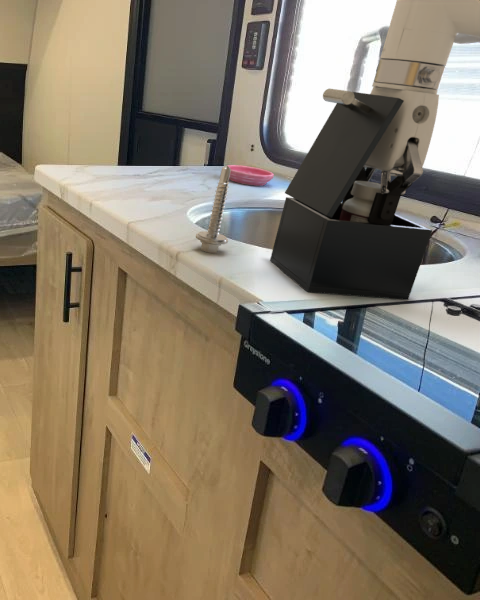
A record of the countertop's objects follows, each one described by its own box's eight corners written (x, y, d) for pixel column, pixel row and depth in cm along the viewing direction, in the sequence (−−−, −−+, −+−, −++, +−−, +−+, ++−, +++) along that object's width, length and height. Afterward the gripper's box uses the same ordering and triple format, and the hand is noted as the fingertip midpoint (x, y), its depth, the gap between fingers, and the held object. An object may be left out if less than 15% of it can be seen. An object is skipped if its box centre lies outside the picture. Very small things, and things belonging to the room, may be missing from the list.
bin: (358, 268, 92) (378, 206, 89) (408, 300, 81) (432, 230, 77) (269, 260, 90) (285, 197, 87) (307, 292, 79) (328, 220, 75)
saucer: (272, 189, 149) (275, 177, 148) (222, 181, 151) (224, 169, 150) (269, 181, 160) (272, 169, 159) (223, 174, 162) (225, 162, 161)
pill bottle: (328, 253, 89) (350, 177, 84) (372, 263, 87) (397, 185, 82) (326, 264, 83) (350, 183, 79) (374, 274, 81) (400, 192, 77)
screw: (190, 251, 90) (196, 243, 94) (222, 258, 89) (226, 249, 93) (208, 164, 85) (213, 160, 89) (242, 170, 84) (245, 166, 88)
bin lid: (348, 93, 82) (318, 76, 80) (404, 100, 70) (369, 81, 69) (288, 195, 87) (259, 180, 85) (331, 218, 75) (298, 201, 74)
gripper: (483, 86, 68) (429, 237, 75) (394, 78, 84) (356, 204, 91) (423, 78, 67) (374, 232, 74) (344, 72, 83) (310, 199, 90)
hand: (365, 215), depth 82 cm, fingers closed on pill bottle, 6 cm apart
